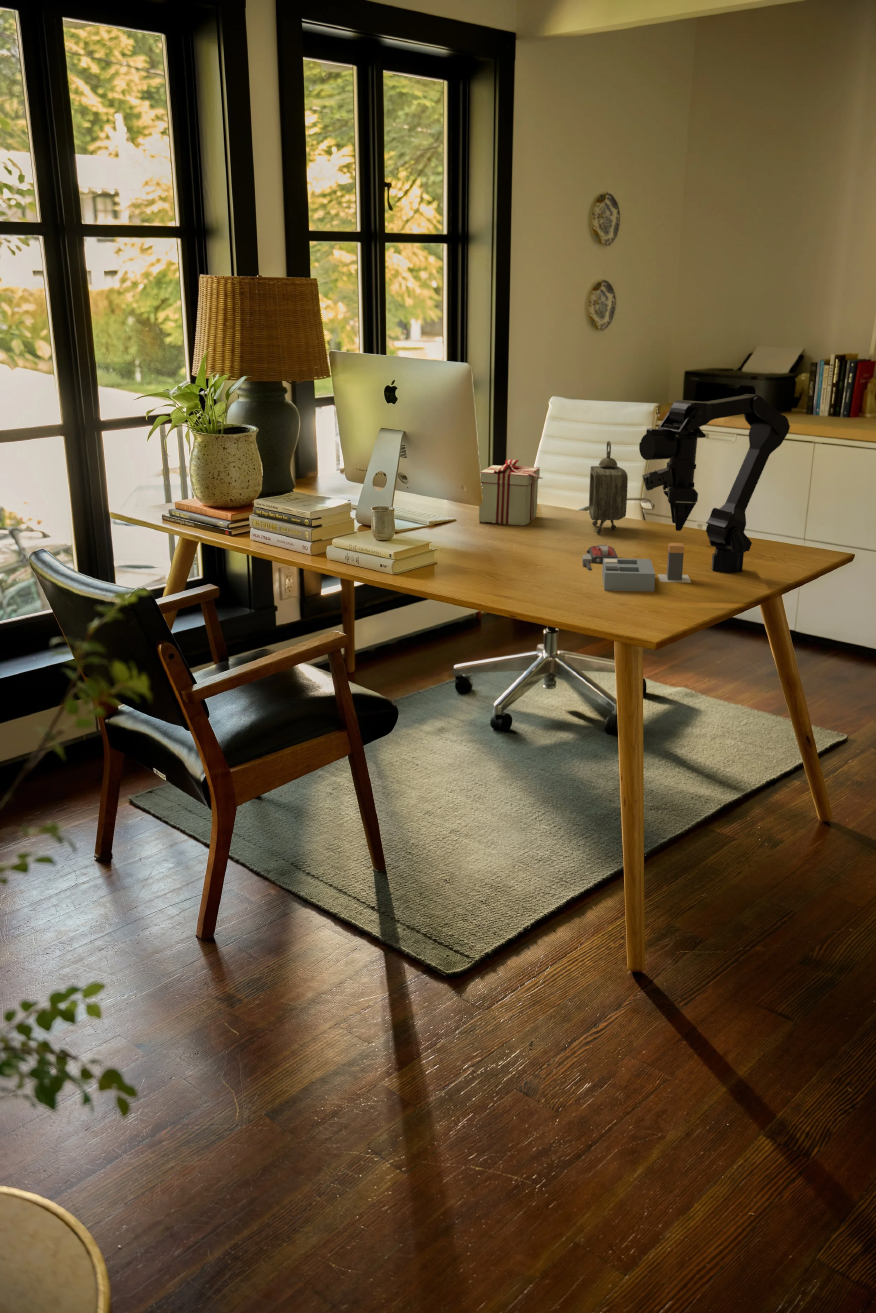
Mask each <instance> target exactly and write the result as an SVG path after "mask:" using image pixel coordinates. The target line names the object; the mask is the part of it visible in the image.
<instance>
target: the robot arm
mask: <svg viewBox="0 0 876 1313" xmlns="http://www.w3.org/2000/svg"><path fill="white" fill-rule="evenodd" d="M739 415H743V416H744V421H745V422H746V423H747V424H748V425H749V427H750V428H749V432H748V442H749V446H748V447H749V448H748V450H747V452H746V455H745V457H744V460H742V464H741V465H740V468H739V471H738V473H737V476H736V477H735V480H734V482H733V484H732V487H731V489H730V492H729V494H728V496H727V498H726V501H725V502H724V504H723V505H722V506H720V507H719V508H718V507H713V508H712V510H711V512H710V515H709V518H708V519H707V521H706V522H705V524H707V525H706V528H705V532H706V535H707V538H708V541H709V545H710V546H711V547H714V552H713V553H712V555H711V556H712V557H711V558H712V559H711V570H712V572H716V573H722V574H736V573H743V567H744V558H745V557H744V556H745V555H744V553H746V552H750V550H751V546H752V544H753V542H752V541H751V540H750V539H749V537H748V536H747V535H746V533H745V531H746V530H745V529H746V526H747V519H746V518H747V517H746V511H747V508H748V506H749V503H750V500H751V498H752V496H753V494H754V492H755V490H756V487H757V485H758V483H759V481H760V478H761V475H762V473H763V471H764V468H765V466H766V464H767V462H768V460H769V457H770V455H771V454H772V453H773V452H774V451H775V450H776V449H778V448H779V447H781V446H782V444H783V443H784V440H785V439H786V437H787V436H788V434H789V431H790V426H791V425H790V423H789V419H788V417H787V416H786V415H784V414H782V413H781V411H779V410H778V409H776V408H775V407H774V406H773V405H771V404H770V403H768V402H767V401H766V400H765V399H764V397H762V396H761V395H760V394H750V393H745V394H742V395H738V396H731V397H726V398H721V399H714V400H709V401H708V400H707V401H696V400H675V401H674V402H673V403H672V404H671V406H670V409H669V411H668V412H667V414H666V416H665V417H664V418H663V420H662V422H661V423H660V425H659V426H658V428H652V427H651V428H646V432H645V434H644V435H642V437H641V439H640V442H639V444H638V448H639V453H640V456H641V458H642V459H644V460H645V461H653V460H654V461H655V460H668V462H666V467H664V468H661V469H660V468H659V469H657V470H656V469H655V470H654V471H649V472H647V473H644V474H642V475H641V476H642V479H643V483H644V487H645V490H646V491H648V492H649V491H652V490H654V489H656V488H659V487H661V486H662V490H663V494H664V496H666V497H667V502H668V504H669V507H670V508H669V509H670V514H671V523H672V524H674V525H675V531H677V532H681V531H682V529H683V527H684V526H685V524H686V522H687V520H688V518H689V517H690V515H691V513H692V511H693V509H694V508H695V506H696V505H697V502H699V501H698V497H699V493H698V491H697V490H696V489H695V480H694V479H695V478H694V477H695V470H696V469H697V464H696V458H697V450H698V449H697V448H698V447H697V446H698V439H705V438H706V436H707V435H706V433H704V432H703V431H702V429H701V427H702V426H705V425H708V424H709V423H710V422H711V421H713V420H716V419H724V418H727V417H734V416H739Z"/></svg>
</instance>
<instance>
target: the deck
mask: <svg viewBox="0 0 876 1313" xmlns="http://www.w3.org/2000/svg"><path fill="white" fill-rule="evenodd" d="M657 576H658V580H659V582H660V583H690V584H691V583H692V581H691V579H690V576H689V574H682V580H668V579H667V573H664V574H663V573H659V574H658V573H657Z"/></svg>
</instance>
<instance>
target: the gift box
mask: <svg viewBox="0 0 876 1313" xmlns="http://www.w3.org/2000/svg"><path fill="white" fill-rule="evenodd" d="M518 462H519V459H506V460H505V462H504V464H503V465H496V464H495V465H494V464H492V465H490V466H489V467H487V468H484V469H483V470H480V471H479V472H480V473H481V483H482V485H483V488H482V495H483V500H482V504H481V506H479V505H478V522H479V521H481V522H480V523H485V522H492V523H491V524H497V523H499V525H510V524H511V525H512V526H523V525H525V526H527V525H529V524H530V523H531V522H532V521H533V520H535V519H536V518H537V517H536V516H537V514H538V512H537V510H538V493H539V491H538V490H539V488H538V487H539V486H538V485H539V479H542V480H543V477H541V474H540V472H541V470H540V468H541V467H540V466H539V467H535V466H534V467H531V466H524V465H517V463H518ZM535 517H536V518H535ZM534 518H535V519H534ZM531 520H532V521H531ZM530 521H531V522H530ZM529 522H530V523H529ZM511 525H510V526H511Z"/></svg>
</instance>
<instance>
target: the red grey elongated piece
mask: <svg viewBox="0 0 876 1313" xmlns="http://www.w3.org/2000/svg"><path fill="white" fill-rule="evenodd" d="M587 549H588V550H586V554H582V556H581V563H582V567H586V569H587V570H588V571H593V570H592V569H593V568H592V566H591V563H593V564H603V558H619V557H618V554H617V552H616V550H615V548H614V547H612V546H610V545H607V544H597V545H591V546H590V547H588V548H587Z"/></svg>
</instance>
